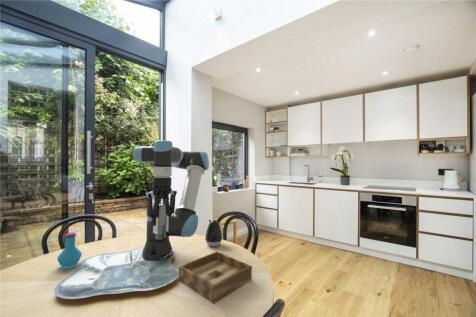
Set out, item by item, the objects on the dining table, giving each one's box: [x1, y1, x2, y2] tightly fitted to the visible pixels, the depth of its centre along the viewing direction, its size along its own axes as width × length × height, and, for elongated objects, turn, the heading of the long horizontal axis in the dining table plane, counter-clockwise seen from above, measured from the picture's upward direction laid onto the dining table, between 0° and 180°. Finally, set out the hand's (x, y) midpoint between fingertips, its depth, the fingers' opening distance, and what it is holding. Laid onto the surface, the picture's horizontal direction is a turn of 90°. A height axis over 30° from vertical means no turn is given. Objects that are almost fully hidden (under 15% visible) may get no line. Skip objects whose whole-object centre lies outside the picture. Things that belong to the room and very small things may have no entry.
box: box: [178, 251, 253, 304], centre depth 94 cm, size 22×22×6 cm
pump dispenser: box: [204, 219, 223, 248], centre depth 134 cm, size 10×10×15 cm
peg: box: [156, 203, 166, 240], centre depth 93 cm, size 4×4×14 cm
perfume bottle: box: [57, 232, 83, 270], centre depth 104 cm, size 9×9×15 cm
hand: (160, 231), depth 93 cm, fingers closed on peg, 4 cm apart
